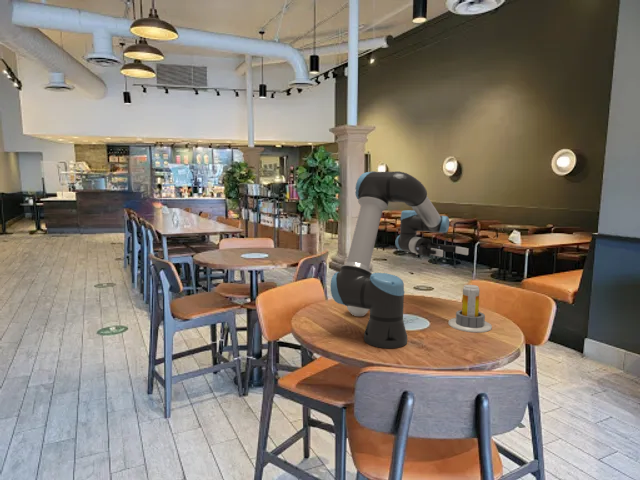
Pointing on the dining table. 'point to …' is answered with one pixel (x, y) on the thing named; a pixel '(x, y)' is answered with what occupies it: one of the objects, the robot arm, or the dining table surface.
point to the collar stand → (470, 323)
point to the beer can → (470, 301)
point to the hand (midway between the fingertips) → (455, 252)
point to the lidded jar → (357, 311)
